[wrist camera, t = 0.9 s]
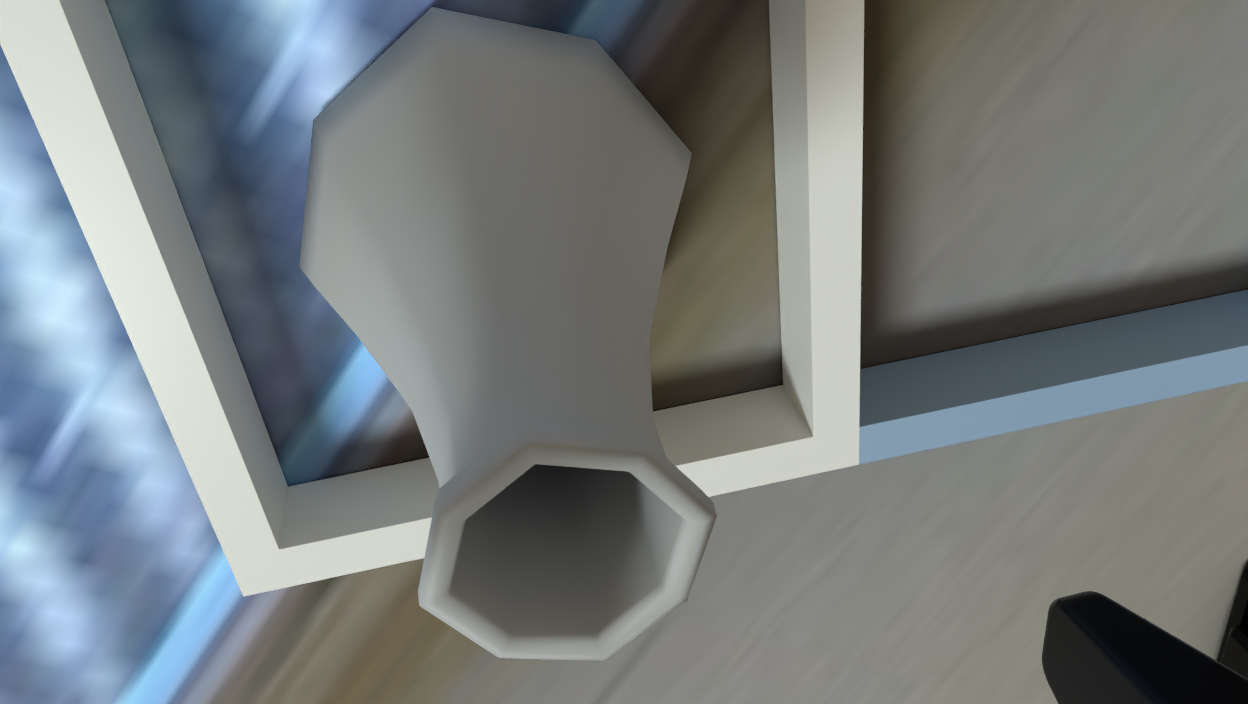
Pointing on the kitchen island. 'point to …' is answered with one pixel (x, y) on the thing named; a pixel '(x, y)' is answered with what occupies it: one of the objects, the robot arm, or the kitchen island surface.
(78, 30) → the duct frame
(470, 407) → the flask
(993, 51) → the kitchen island surface
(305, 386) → the kitchen island surface
